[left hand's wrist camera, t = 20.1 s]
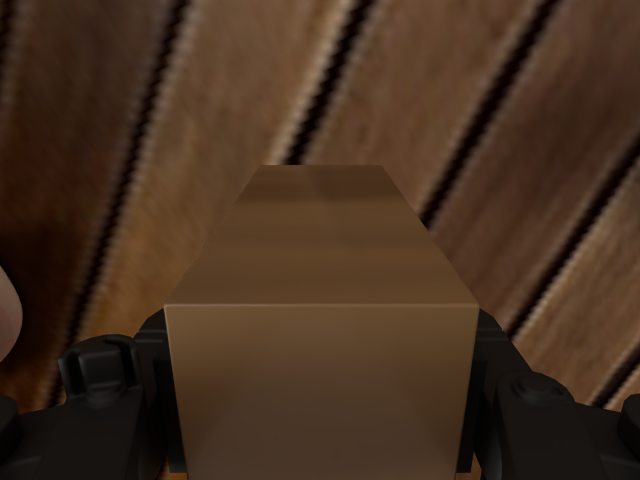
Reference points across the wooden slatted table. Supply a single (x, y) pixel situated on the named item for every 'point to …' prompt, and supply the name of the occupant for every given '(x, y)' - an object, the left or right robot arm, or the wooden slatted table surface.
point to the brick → (321, 335)
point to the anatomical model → (8, 315)
